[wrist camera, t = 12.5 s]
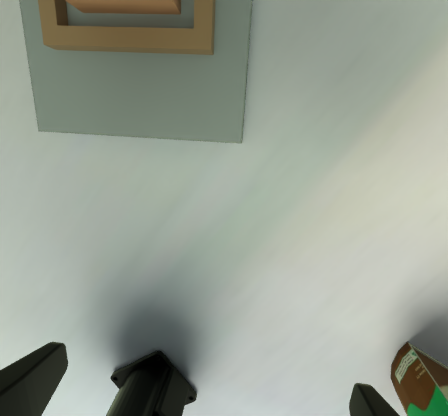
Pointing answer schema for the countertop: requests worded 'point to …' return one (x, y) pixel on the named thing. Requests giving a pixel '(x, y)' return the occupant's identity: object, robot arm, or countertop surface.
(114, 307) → the countertop surface
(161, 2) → the terracotta block
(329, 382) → the countertop surface
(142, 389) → the robot arm
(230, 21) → the base slab
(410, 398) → the food container
